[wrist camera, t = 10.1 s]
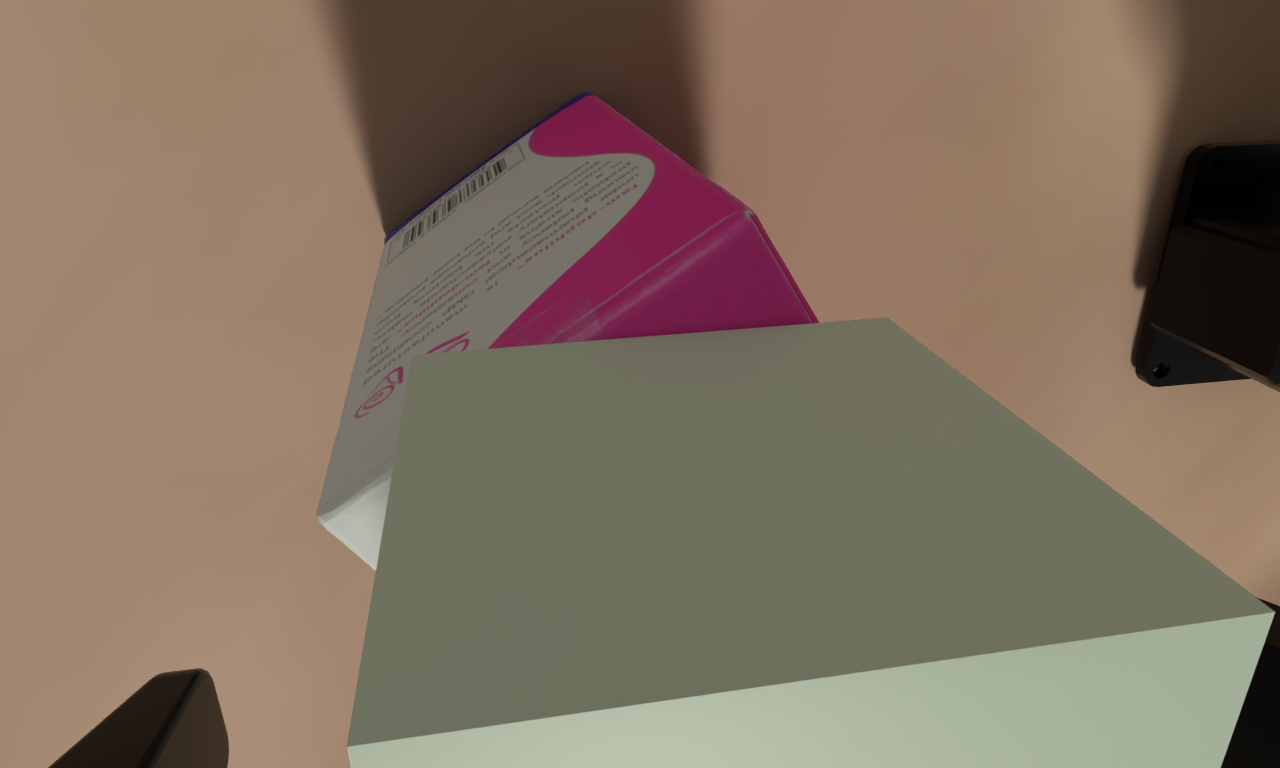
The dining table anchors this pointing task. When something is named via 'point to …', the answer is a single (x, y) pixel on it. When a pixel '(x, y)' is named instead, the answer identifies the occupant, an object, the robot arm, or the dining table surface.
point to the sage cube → (774, 571)
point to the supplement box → (547, 277)
